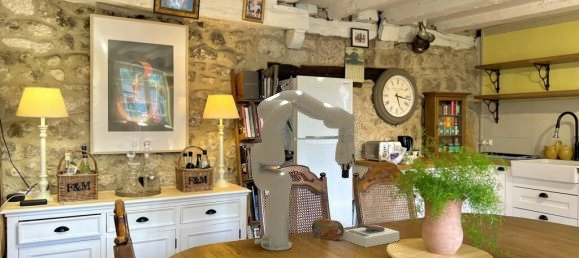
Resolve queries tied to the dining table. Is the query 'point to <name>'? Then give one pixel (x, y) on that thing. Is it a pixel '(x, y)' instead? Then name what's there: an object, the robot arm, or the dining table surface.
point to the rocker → (371, 227)
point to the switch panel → (370, 236)
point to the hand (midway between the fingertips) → (345, 177)
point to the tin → (327, 229)
